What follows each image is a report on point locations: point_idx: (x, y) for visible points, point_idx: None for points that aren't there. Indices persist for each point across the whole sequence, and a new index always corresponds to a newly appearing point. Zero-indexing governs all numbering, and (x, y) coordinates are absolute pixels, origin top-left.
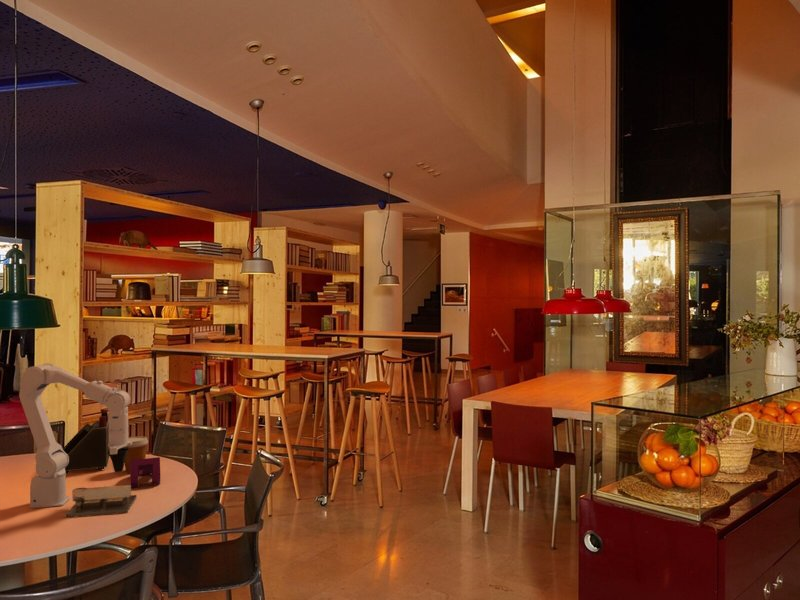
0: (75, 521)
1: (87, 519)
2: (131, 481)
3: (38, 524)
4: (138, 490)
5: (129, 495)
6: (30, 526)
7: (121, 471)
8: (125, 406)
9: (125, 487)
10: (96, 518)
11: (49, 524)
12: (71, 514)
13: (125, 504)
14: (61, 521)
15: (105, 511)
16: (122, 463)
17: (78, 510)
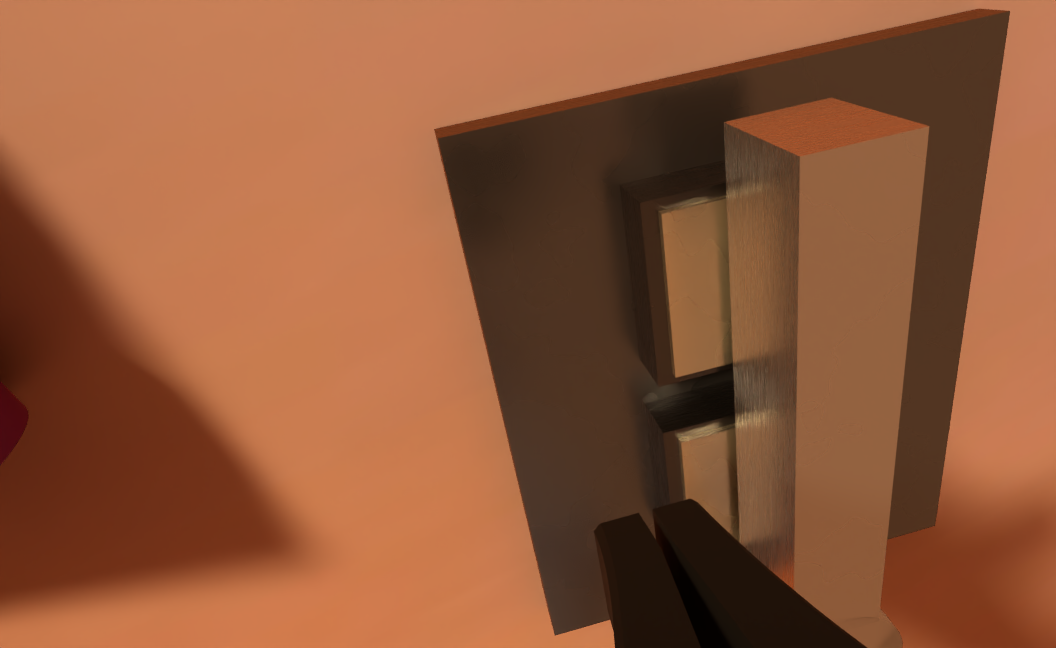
0: (1034, 393)
1: (1024, 326)
2: (15, 422)
3: (995, 584)
4: (84, 250)
5: (842, 101)
6: (1015, 603)
7: (697, 503)
8: None
9: (919, 190)
10: (1029, 262)
11: (1024, 525)
12: (933, 487)
13: None
14: (992, 487)
15: (973, 242)
16: (835, 626)
17: None
